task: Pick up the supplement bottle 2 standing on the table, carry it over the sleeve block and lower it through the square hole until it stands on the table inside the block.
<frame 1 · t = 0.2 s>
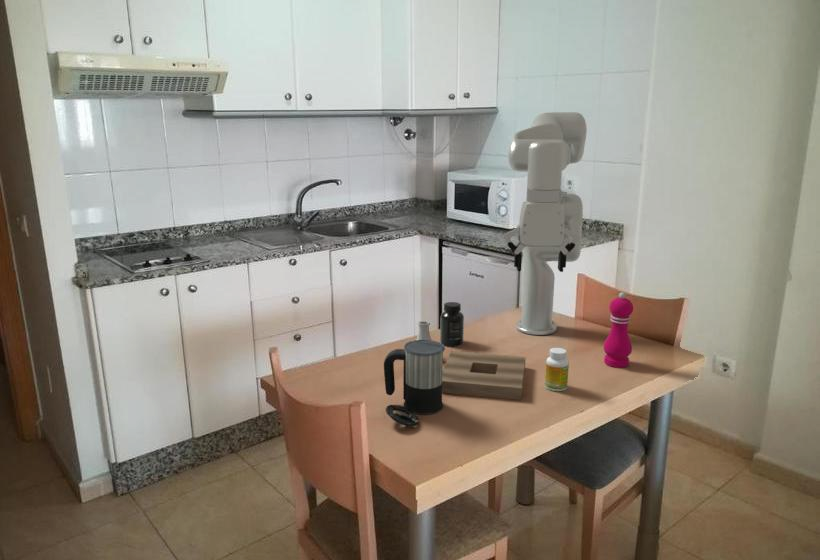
hand: (539, 270, 145), 30 cm above the table, tool pointing down, fingers open, 9 cm apart
pepper mill: (616, 364, 168), on the table
supplement bottle: (451, 343, 183), on the table
sleeve block: (483, 379, 158), on the table
supplement bottle 2: (555, 388, 154), on the table
flask: (423, 357, 173), on the table
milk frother: (415, 414, 140), on the table
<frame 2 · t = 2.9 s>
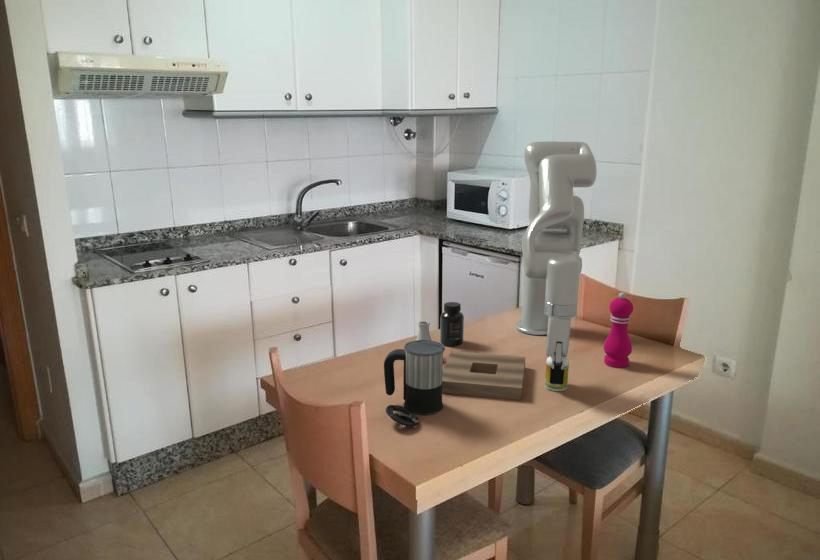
hand: (556, 377, 153), 3 cm above the table, tool pointing down, fingers closed on supplement bottle 2, 5 cm apart
supplement bottle 2: (555, 387, 154), on the table, touching gripper
everything else where it was.
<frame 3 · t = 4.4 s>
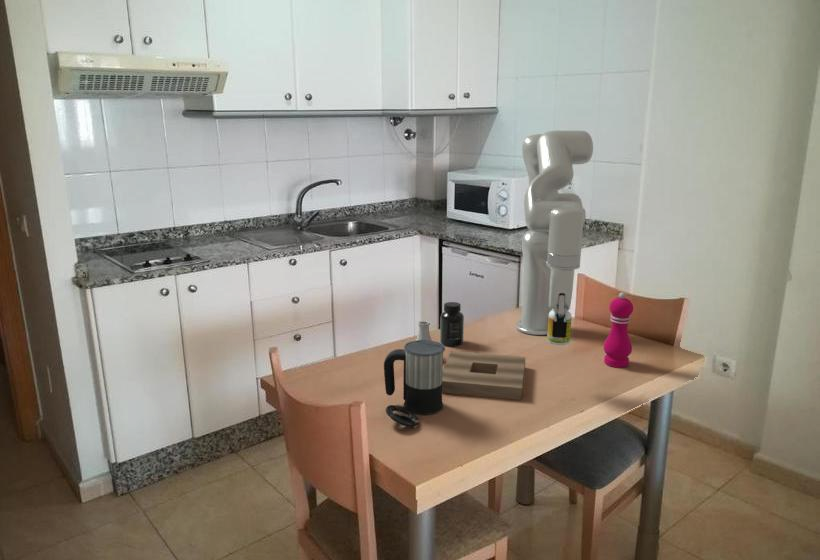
hand: (558, 331, 150), 14 cm above the table, tool pointing down, fingers closed on supplement bottle 2, 5 cm apart
supplement bottle 2: (558, 342, 151), point 12 cm above the table, touching gripper
everything else where it was.
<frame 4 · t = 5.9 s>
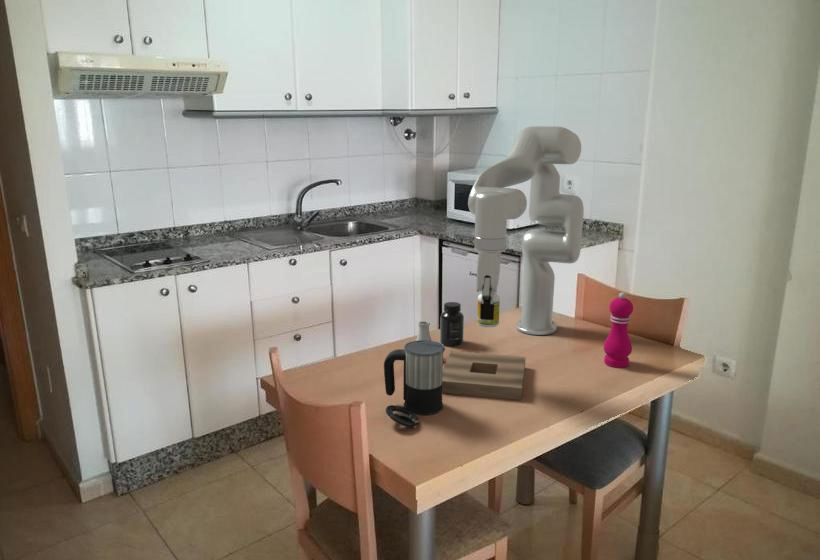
hand: (488, 314, 154), 17 cm above the table, tool pointing down, fingers closed on supplement bottle 2, 5 cm apart
supplement bottle 2: (487, 325, 154), point 15 cm above the table, touching gripper
everything else where it was.
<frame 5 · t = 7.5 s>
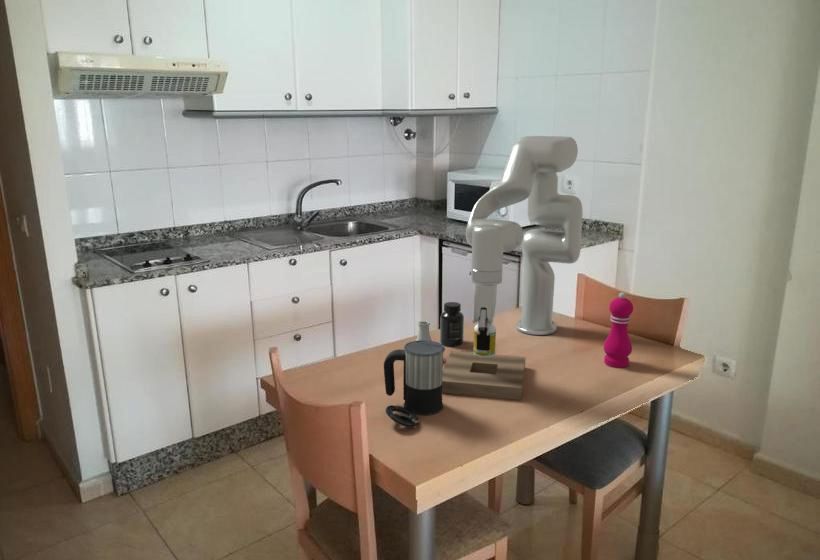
hand: (484, 344, 156), 9 cm above the table, tool pointing down, fingers closed on supplement bottle 2, 5 cm apart
supplement bottle 2: (484, 354, 156), point 7 cm above the table, touching gripper
everything else where it was.
when the fingers open (5 cm above the table, at t = 8.8 s): supplement bottle 2 drops 2 cm, resting in sleeve block.
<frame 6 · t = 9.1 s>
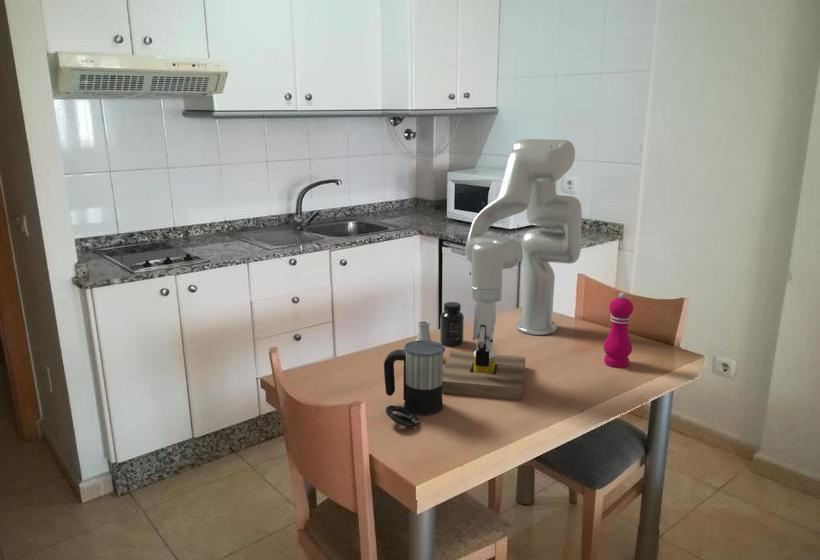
hand: (484, 358, 157), 6 cm above the table, tool pointing down, fingers open, 8 cm apart
supplement bottle 2: (483, 379, 159), resting in sleeve block
everything else where it was.
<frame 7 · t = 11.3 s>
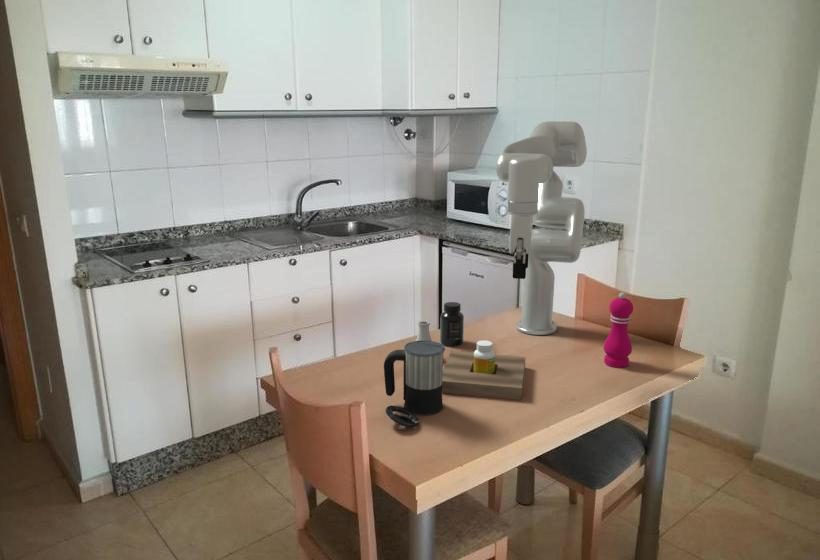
hand: (520, 272, 161), 26 cm above the table, tool pointing down, fingers open, 9 cm apart
nothing on the table moved.
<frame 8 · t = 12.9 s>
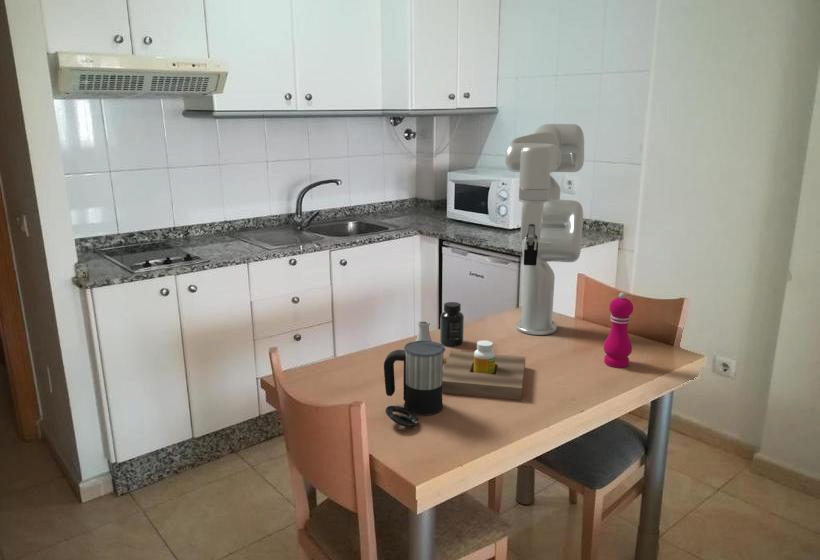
hand: (530, 260, 162), 28 cm above the table, tool pointing down, fingers open, 9 cm apart
nothing on the table moved.
at the end: supplement bottle 2 0.3 cm off-centre on the sleeve block, point 0.0 cm above the sleeve block's base; supplement bottle 2 tilted 0°; the gripper is holding nothing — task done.
